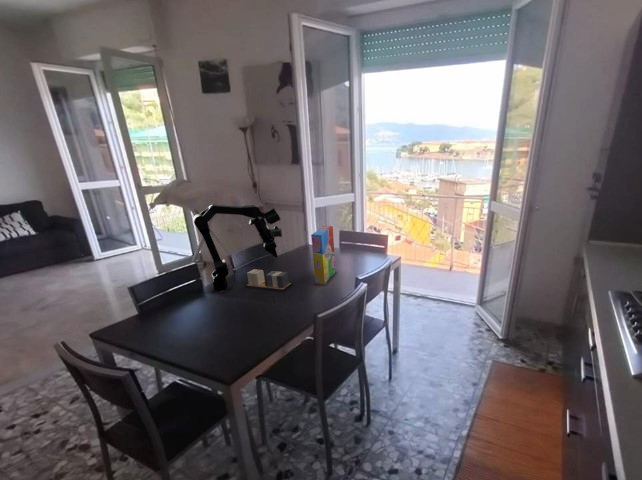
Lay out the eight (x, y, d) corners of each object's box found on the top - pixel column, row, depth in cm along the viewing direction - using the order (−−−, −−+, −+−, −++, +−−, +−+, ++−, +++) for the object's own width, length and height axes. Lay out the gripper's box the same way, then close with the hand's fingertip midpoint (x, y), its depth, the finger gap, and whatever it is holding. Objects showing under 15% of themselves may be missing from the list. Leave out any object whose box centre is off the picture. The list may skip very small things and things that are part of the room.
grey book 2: (283, 288, 183) (281, 276, 180) (278, 287, 184) (276, 275, 181) (288, 283, 188) (287, 272, 186) (284, 283, 189) (282, 272, 186)
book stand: (283, 291, 182) (281, 280, 180) (246, 287, 188) (244, 276, 186) (291, 284, 190) (290, 274, 187) (256, 281, 196) (254, 270, 193)
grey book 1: (272, 286, 185) (270, 275, 182) (267, 286, 186) (265, 274, 183) (278, 282, 190) (276, 271, 187) (273, 282, 191) (272, 270, 188)
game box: (324, 285, 188) (320, 235, 177) (315, 285, 189) (310, 234, 178) (335, 272, 206) (333, 225, 195) (326, 271, 207) (323, 225, 196)
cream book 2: (258, 285, 187) (256, 273, 185) (254, 284, 188) (252, 273, 185) (264, 281, 192) (263, 270, 190) (260, 280, 193) (258, 269, 190)
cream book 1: (253, 284, 188) (251, 273, 185) (248, 284, 189) (246, 272, 186) (259, 280, 193) (258, 269, 191) (255, 280, 194) (253, 269, 191)
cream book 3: (277, 287, 184) (276, 275, 181) (272, 287, 185) (271, 275, 182) (283, 283, 189) (282, 271, 187) (278, 282, 190) (277, 271, 187)
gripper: (278, 227, 176) (292, 254, 185) (275, 217, 192) (287, 243, 200) (258, 236, 175) (272, 263, 184) (256, 226, 191) (269, 251, 199)
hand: (276, 254), depth 192 cm, fingers open, 9 cm apart
